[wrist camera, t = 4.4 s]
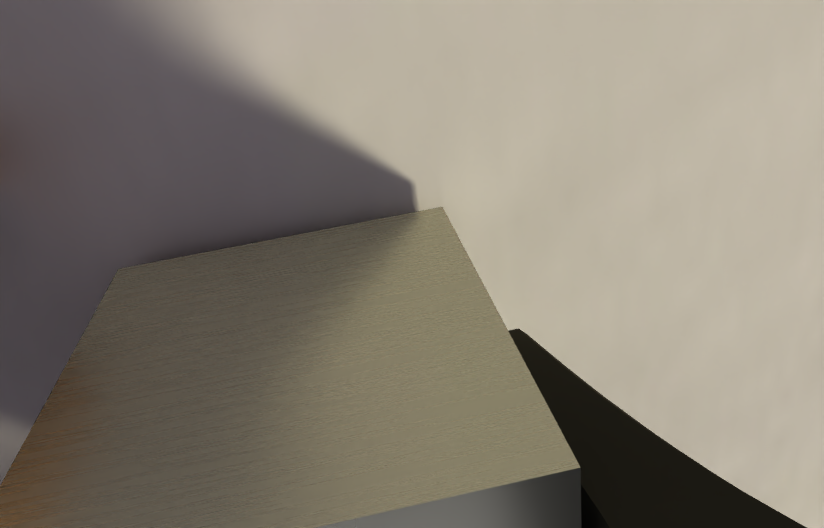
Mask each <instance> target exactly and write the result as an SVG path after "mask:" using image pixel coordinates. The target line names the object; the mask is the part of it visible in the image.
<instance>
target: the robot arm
mask: <svg viewBox="0 0 824 528" xmlns="http://www.w3.org/2000/svg"><path fill="white" fill-rule="evenodd" d="M508 332H509V333H510V335H511V337H512V339H513V341H514V343H515V345H516V347H517V349H518V350H519V352H520V354H521V356H522V358H523V360H524V362H525V364H526V366H527V367H528V369H529V371H530V373H531V375H532V377H533V379H534V381H535V383H536V384H537V386H538V388H539V390H540V392H541V394H542V396H543V398H544V399H545V401H546V403H547V405H548V407H549V409H550V411H551V413H552V415H553V416H554V418H555V420H556V422H557V424H558V426H559V428H560V430H561V432H562V433H563V435H564V437H565V439H566V441H567V443H568V445H569V447H570V449H571V450H572V452H573V454H574V456H575V458H576V460H577V462H578V464H579V466H580V467H581V528H806V527H804V526H803V525H801V524H799V523H797V522H796V521H794V520H792V519H790V518H789V517H787V516H785V515H783V514H781V513H780V512H778V511H776V510H774V509H773V508H771V507H769V506H767V505H766V504H764V503H762V502H760V501H759V500H757V499H755V498H753V497H752V496H750V495H748V494H746V493H745V492H743V491H741V490H740V489H738V488H736V487H735V486H733V485H732V484H730V483H728V482H727V481H725V480H724V479H722V478H720V477H719V476H717V475H716V474H714V473H712V472H711V471H709V470H708V469H706V468H705V467H703V466H702V465H700V464H699V463H697V462H696V461H694V460H693V459H691V458H690V457H688V456H687V455H685V454H684V453H682V452H681V451H679V450H678V449H676V448H675V447H673V446H672V445H670V444H669V443H667V442H666V441H664V440H663V439H662V438H660V437H659V436H657V435H656V434H654V433H653V432H652V431H650V430H649V429H647V428H646V427H644V426H643V425H642V424H640V423H639V422H638V421H636V420H635V419H634V418H632V417H631V416H630V415H628V414H627V413H625V412H624V411H623V410H621V409H620V408H619V407H617V406H616V405H615V404H613V403H612V402H611V401H609V400H608V399H606V398H605V397H604V396H603V395H601V394H600V393H599V392H597V391H596V390H595V389H593V388H592V387H591V386H590V385H588V384H587V383H586V382H585V381H583V380H582V379H581V378H580V377H578V376H577V375H576V374H575V373H573V372H572V371H571V370H570V369H568V368H567V367H566V366H565V365H563V364H562V363H561V362H560V361H558V360H557V359H556V358H555V357H554V356H552V355H551V354H550V353H549V352H548V351H546V350H545V349H544V348H543V347H542V346H540V345H539V344H538V343H537V342H536V341H534V340H533V339H532V338H531V337H530V336H528V335H527V334H526V333H524V332H523V331H521V330H520V329H515V330H510V331H508Z"/></svg>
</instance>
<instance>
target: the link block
mask: <svg viewBox="0 0 824 528" xmlns="http://www.w3.org/2000/svg"><path fill="white" fill-rule="evenodd" d="M0 528H581V467H580V466H579V464H578V462H577V460H576V458H575V456H574V454H573V452H572V450H571V449H570V447H569V445H568V443H567V441H566V439H565V437H564V435H563V433H562V432H561V430H560V428H559V426H558V424H557V422H556V420H555V418H554V416H553V415H552V413H551V411H550V409H549V407H548V405H547V403H546V401H545V399H544V398H543V396H542V394H541V392H540V390H539V388H538V386H537V384H536V383H535V381H534V379H533V377H532V375H531V373H530V371H529V369H528V367H527V366H526V364H525V362H524V360H523V358H522V356H521V354H520V352H519V350H518V349H517V347H516V345H515V343H514V341H513V339H512V337H511V335H510V333H509V332H508V330H507V328H506V326H505V324H504V322H503V320H502V318H501V316H500V315H499V313H498V311H497V309H496V307H495V305H494V303H493V301H492V299H491V298H490V296H489V294H488V292H487V290H486V288H485V286H484V284H483V283H482V281H481V279H480V277H479V275H478V273H477V271H476V269H475V267H474V266H473V264H472V262H471V260H470V258H469V256H468V254H467V252H466V250H465V249H464V247H463V245H462V243H461V241H460V239H459V237H458V235H457V233H456V232H455V230H454V228H453V226H452V224H451V222H450V220H449V218H448V216H447V215H446V213H445V211H444V209H443V207H439V208H433V209H428V210H423V211H418V212H412V213H407V214H402V215H397V216H392V217H386V218H381V219H376V220H371V221H365V222H360V223H355V224H350V225H345V226H339V227H334V228H329V229H324V230H319V231H313V232H308V233H303V234H298V235H292V236H287V237H282V238H277V239H272V240H266V241H261V242H256V243H251V244H246V245H240V246H235V247H230V248H225V249H219V250H214V251H209V252H204V253H199V254H193V255H188V256H183V257H178V258H172V259H167V260H162V261H157V262H152V263H146V264H141V265H136V266H131V267H126V268H120V269H118V271H117V273H116V275H115V276H114V278H113V280H112V282H111V284H110V286H109V287H108V289H107V291H106V293H105V295H104V297H103V298H102V300H101V302H100V304H99V306H98V308H97V309H96V311H95V313H94V315H93V317H92V319H91V320H90V322H89V324H88V326H87V328H86V330H85V331H84V333H83V335H82V337H81V339H80V341H79V342H78V344H77V346H76V348H75V350H74V352H73V353H72V355H71V357H70V359H69V361H68V363H67V365H66V366H65V368H64V370H63V372H62V374H61V376H60V377H59V379H58V381H57V383H56V385H55V387H54V388H53V390H52V392H51V394H50V396H49V398H48V399H47V401H46V403H45V405H44V407H43V409H42V410H41V412H40V414H39V416H38V418H37V420H36V421H35V423H34V425H33V427H32V429H31V431H30V432H29V434H28V436H27V438H26V440H25V442H24V443H23V445H22V447H21V449H20V451H19V453H18V454H17V456H16V458H15V460H14V462H13V464H12V465H11V467H10V469H9V471H8V473H7V475H6V476H5V478H4V480H3V482H2V484H1V486H0Z"/></svg>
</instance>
